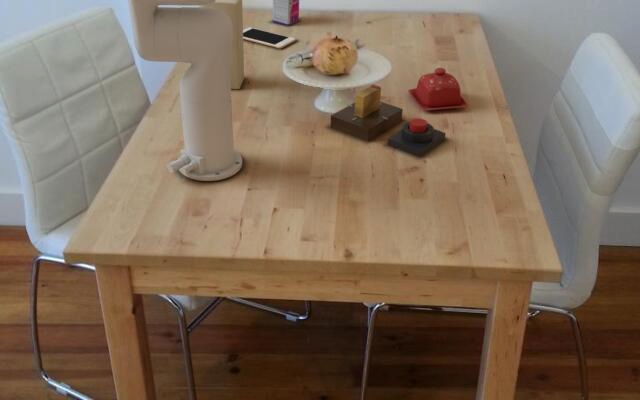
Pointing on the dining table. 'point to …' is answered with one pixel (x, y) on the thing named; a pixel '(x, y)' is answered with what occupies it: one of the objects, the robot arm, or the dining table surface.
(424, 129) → the alarm button
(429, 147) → the alarm box
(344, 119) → the plate
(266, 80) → the dining table surface
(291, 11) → the supplement box
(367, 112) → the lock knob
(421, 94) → the butter dish
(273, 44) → the cell phone
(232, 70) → the toy refrigerator
